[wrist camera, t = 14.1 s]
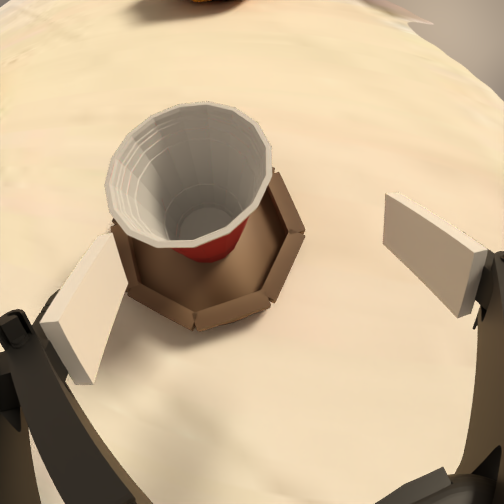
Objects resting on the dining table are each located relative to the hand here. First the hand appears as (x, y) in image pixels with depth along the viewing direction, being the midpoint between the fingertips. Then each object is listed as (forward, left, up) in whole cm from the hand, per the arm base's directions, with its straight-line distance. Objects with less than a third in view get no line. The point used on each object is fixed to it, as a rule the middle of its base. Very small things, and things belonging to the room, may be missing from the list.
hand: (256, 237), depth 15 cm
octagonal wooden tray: (+2, -7, -15) cm, 17 cm away
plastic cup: (+2, -7, -14) cm, 16 cm away
